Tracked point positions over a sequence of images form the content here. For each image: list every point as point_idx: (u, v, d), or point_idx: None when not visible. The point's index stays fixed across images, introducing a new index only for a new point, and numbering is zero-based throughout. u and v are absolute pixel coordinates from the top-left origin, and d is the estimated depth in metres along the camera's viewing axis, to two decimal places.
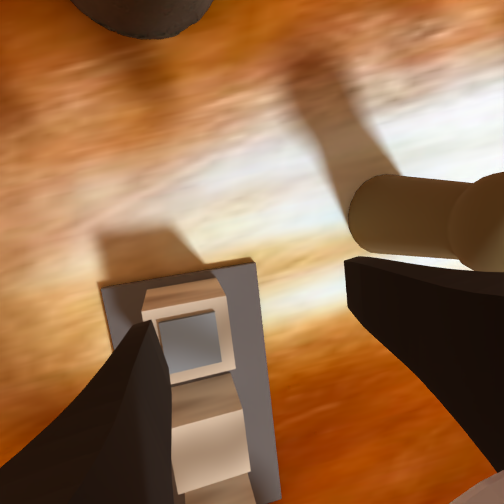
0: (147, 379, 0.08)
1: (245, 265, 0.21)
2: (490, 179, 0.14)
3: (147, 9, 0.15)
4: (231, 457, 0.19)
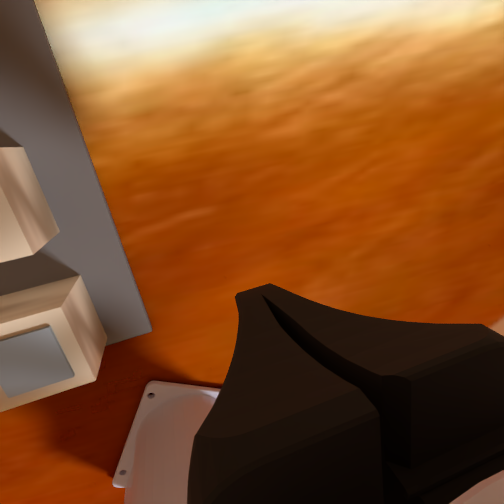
0: None
1: None
2: None
3: None
4: None
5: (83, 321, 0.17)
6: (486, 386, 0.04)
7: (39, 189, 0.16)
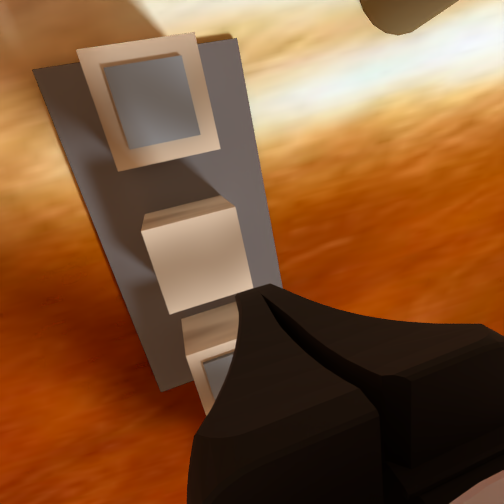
0: None
1: (223, 41, 0.16)
2: None
3: None
4: (228, 270, 0.16)
5: None
6: (488, 386, 0.04)
7: None
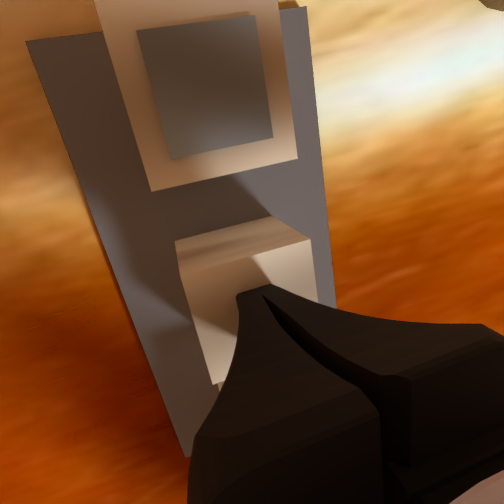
0: None
1: (288, 10, 0.12)
2: None
3: None
4: None
5: None
6: (488, 386, 0.04)
7: None
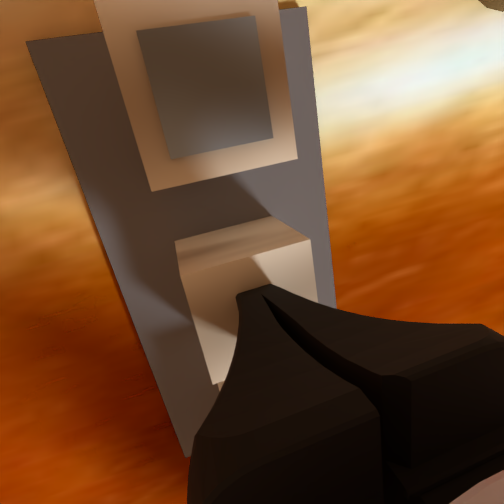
0: None
1: (288, 10, 0.12)
2: None
3: None
4: None
5: None
6: (488, 386, 0.04)
7: None
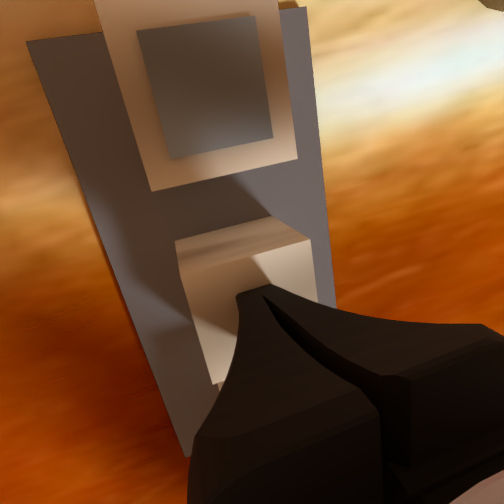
0: None
1: (288, 10, 0.12)
2: None
3: None
4: None
5: None
6: (487, 386, 0.04)
7: None
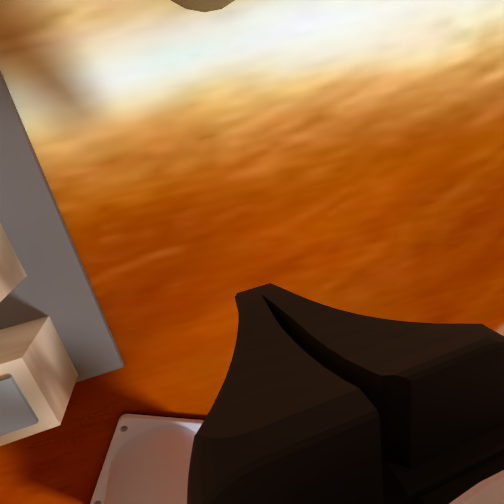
0: None
1: None
2: None
3: None
4: None
5: (48, 365, 0.17)
6: (488, 387, 0.04)
7: (4, 236, 0.16)
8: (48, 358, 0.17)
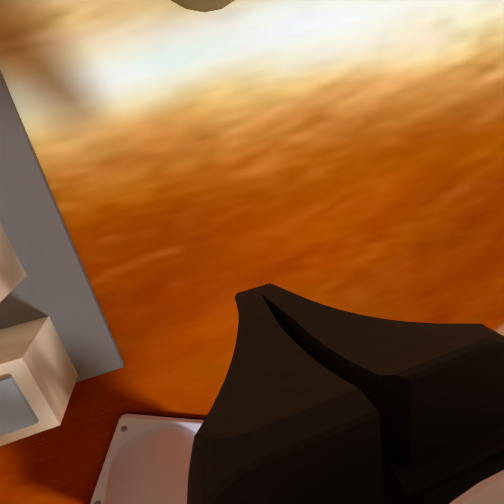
0: None
1: None
2: None
3: None
4: None
5: (48, 365, 0.17)
6: (488, 387, 0.04)
7: (4, 236, 0.16)
8: (48, 358, 0.17)
